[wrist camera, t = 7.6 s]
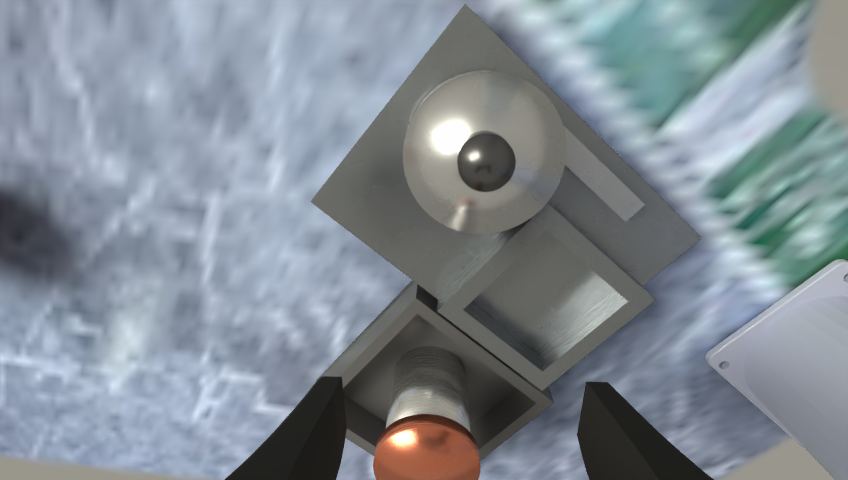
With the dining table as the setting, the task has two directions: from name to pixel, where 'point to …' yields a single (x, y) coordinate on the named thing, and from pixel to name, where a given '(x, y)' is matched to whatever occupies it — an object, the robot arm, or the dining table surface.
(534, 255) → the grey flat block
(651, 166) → the dining table surface
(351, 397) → the tray
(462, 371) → the pin
